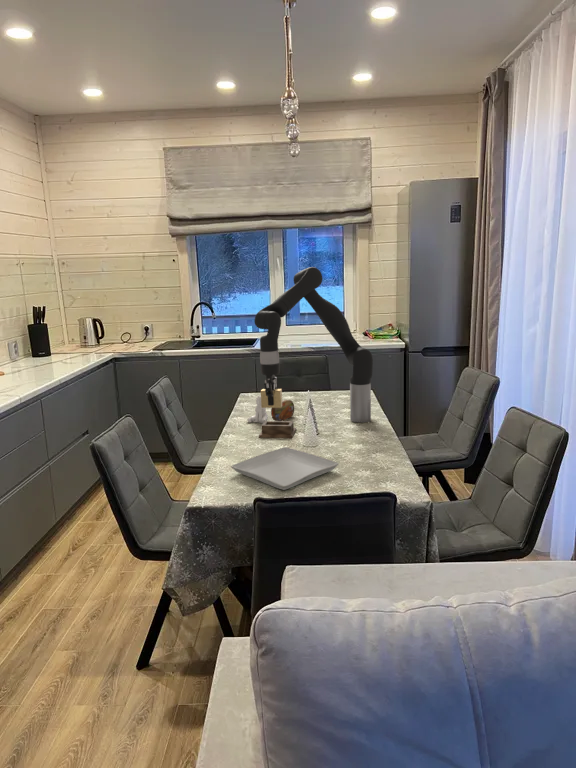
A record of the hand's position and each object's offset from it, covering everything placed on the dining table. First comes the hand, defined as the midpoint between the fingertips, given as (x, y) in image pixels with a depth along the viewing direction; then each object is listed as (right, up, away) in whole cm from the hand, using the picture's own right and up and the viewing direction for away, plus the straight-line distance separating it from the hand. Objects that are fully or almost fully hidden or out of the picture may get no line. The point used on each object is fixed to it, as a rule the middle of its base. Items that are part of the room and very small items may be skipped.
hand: (271, 403), depth 225 cm
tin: (+4, -9, +36) cm, 38 cm away
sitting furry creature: (-6, -9, +34) cm, 36 cm away
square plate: (+5, -23, -31) cm, 39 cm away
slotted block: (+2, -13, +14) cm, 19 cm away
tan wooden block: (0, -1, 0) cm, 1 cm away
